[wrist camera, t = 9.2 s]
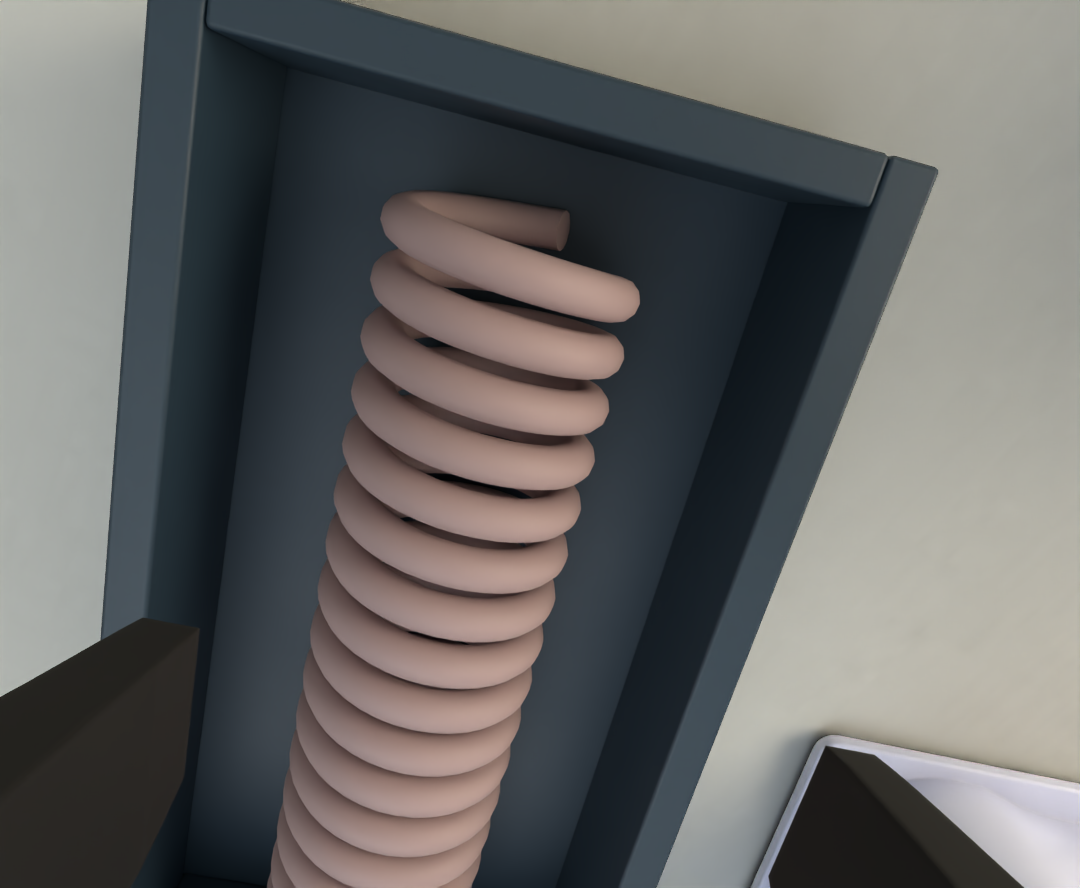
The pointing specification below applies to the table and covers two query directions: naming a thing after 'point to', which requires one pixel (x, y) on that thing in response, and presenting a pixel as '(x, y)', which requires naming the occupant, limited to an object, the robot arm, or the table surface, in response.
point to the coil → (443, 541)
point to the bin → (605, 494)
